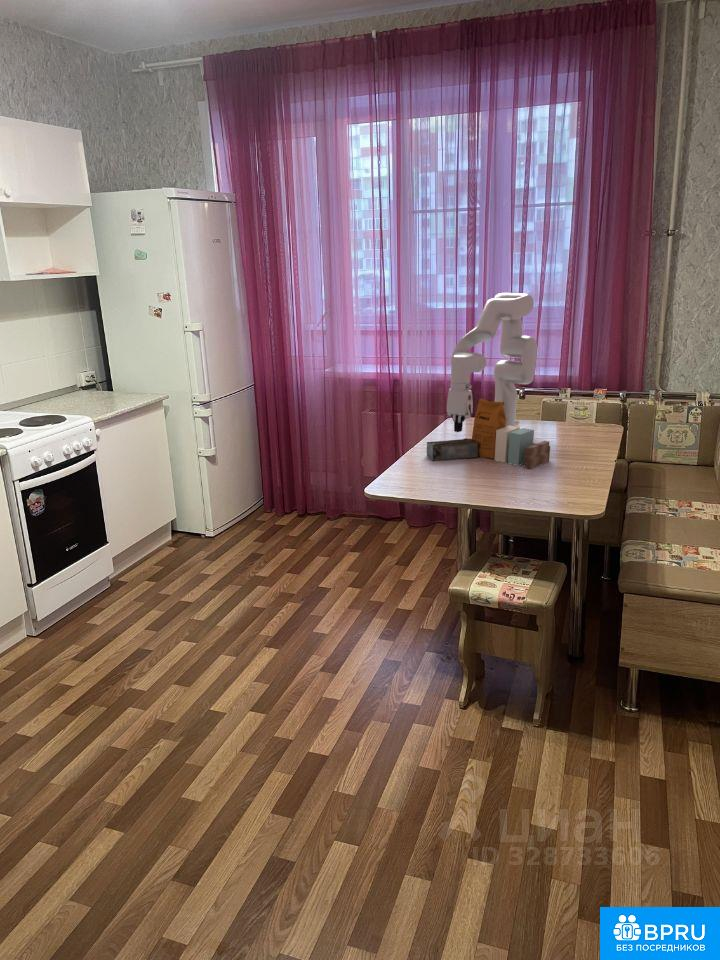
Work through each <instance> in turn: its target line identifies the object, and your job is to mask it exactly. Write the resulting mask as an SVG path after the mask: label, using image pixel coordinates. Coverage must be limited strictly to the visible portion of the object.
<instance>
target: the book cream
mask: <svg viewBox="0 0 720 960" xmlns="http://www.w3.org/2000/svg"><path fill="white" fill-rule="evenodd" d="M519 429H521V428H520V426H516V425H515V426H507V427H504V428H501V429H498V430H496V444H495V458H494V461H495V460H498V461H497V462H499V461H503V462H502V463H504V462H505V463H507V462H506V461H508V452H509V437H510V432H513V431H516V430H519Z"/></svg>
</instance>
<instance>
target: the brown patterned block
mask: <svg viewBox="0 0 720 960" xmlns="http://www.w3.org/2000/svg"><path fill="white" fill-rule="evenodd" d="M550 455H551V445H550V441H549V440H544V441H540V442H538V443H535V442H533V445H532V446H529V447H526V450H525V463H524V464H523V465H524V467H523V469H524V468H526V469H525V470H531V468H532V469H533V467H534V468H537V467H538V466H541V465H544V464H546V463H549V462H550ZM536 466H537V467H536Z"/></svg>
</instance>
